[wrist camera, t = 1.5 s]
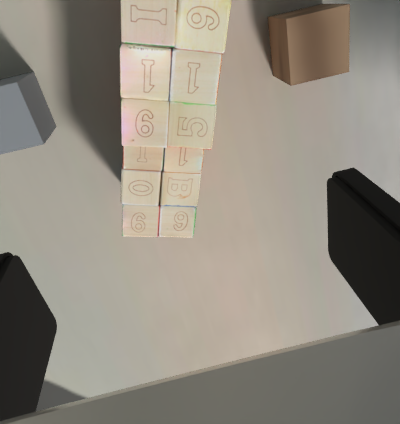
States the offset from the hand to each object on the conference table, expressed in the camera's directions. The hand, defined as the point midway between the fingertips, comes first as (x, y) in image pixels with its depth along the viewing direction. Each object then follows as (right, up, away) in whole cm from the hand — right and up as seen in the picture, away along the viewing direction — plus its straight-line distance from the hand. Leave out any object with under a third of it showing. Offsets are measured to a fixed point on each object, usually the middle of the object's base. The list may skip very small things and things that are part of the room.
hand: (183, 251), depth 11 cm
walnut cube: (+9, +17, +22) cm, 30 cm away
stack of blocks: (-3, +13, +23) cm, 27 cm away
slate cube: (-16, +11, +22) cm, 29 cm away
